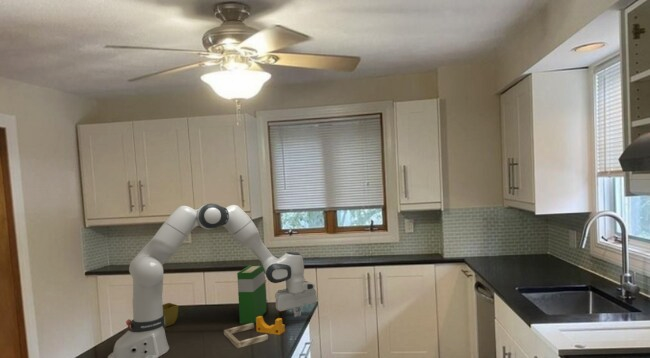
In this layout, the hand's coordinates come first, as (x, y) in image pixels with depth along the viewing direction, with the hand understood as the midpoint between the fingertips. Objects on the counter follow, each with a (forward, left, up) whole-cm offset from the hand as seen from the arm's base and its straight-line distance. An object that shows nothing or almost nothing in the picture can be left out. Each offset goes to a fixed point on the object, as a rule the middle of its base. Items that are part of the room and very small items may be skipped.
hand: (297, 316), depth 185 cm
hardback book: (-13, +22, -4) cm, 26 cm away
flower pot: (-51, +39, -4) cm, 64 cm away
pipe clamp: (-14, -1, -4) cm, 15 cm away
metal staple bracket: (-25, 0, -3) cm, 26 cm away
